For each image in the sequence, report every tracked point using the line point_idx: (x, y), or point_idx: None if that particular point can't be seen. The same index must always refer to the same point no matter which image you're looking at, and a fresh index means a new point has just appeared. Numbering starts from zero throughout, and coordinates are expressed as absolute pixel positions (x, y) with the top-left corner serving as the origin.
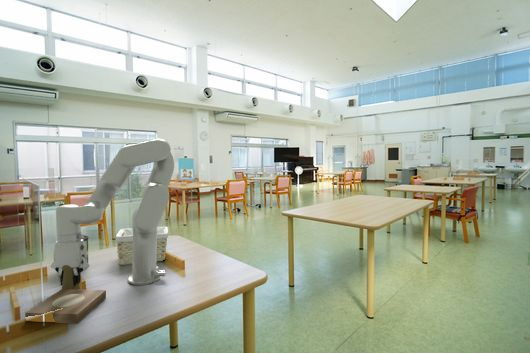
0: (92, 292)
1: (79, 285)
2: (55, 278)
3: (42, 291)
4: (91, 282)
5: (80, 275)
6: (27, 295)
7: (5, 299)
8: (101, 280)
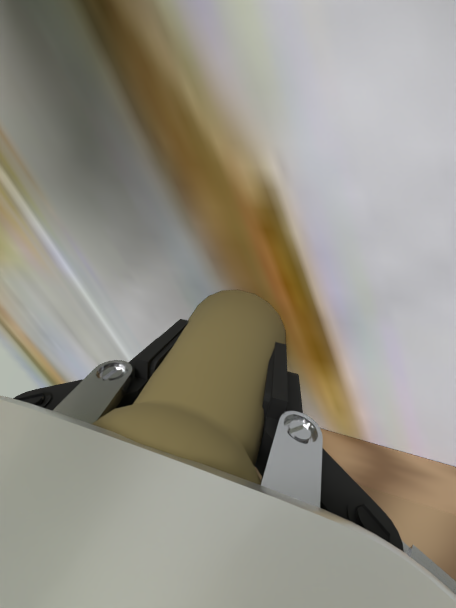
0: (441, 539)
1: (282, 339)
2: (37, 124)
3: (102, 322)
4: (329, 221)
5: (301, 406)
6: (72, 351)
7: (26, 369)
8: (412, 180)
